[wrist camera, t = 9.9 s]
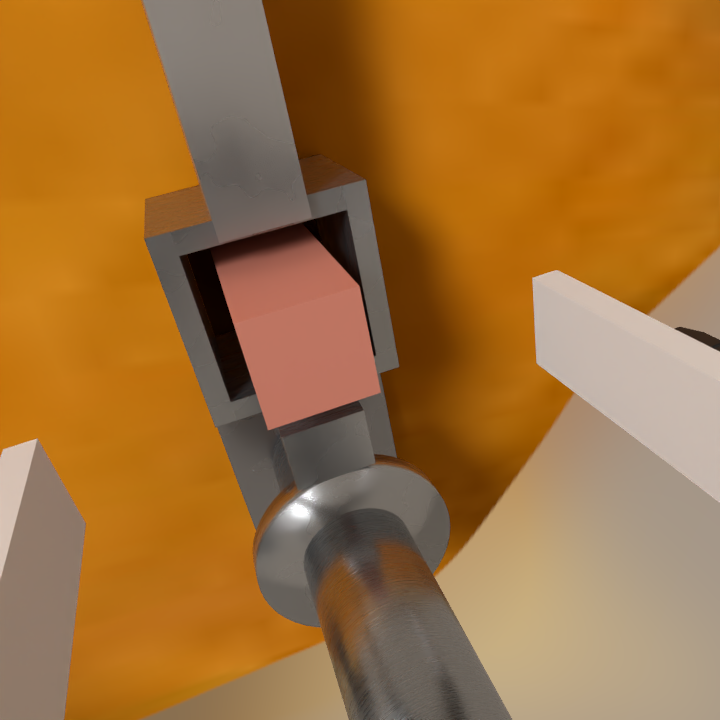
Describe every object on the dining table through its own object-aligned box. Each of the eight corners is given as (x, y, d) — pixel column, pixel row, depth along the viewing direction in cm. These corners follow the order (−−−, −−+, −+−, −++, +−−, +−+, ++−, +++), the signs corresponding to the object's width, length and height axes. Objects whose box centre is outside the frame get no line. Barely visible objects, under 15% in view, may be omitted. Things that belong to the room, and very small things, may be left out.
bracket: (203, 357, 27) (216, 434, 22) (-9, -224, 17) (-83, -356, 12) (354, 310, 28) (404, 372, 23) (234, -256, 19) (270, -387, 13)
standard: (256, 526, 32) (378, 1060, 15) (194, 359, 27) (271, 882, 10) (396, 476, 33) (653, 911, 16) (362, 308, 28) (683, 688, 11)
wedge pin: (229, 310, 26) (268, 430, 18) (204, 231, 25) (233, 323, 16) (308, 286, 27) (380, 392, 19) (288, 208, 25) (359, 285, 17)
